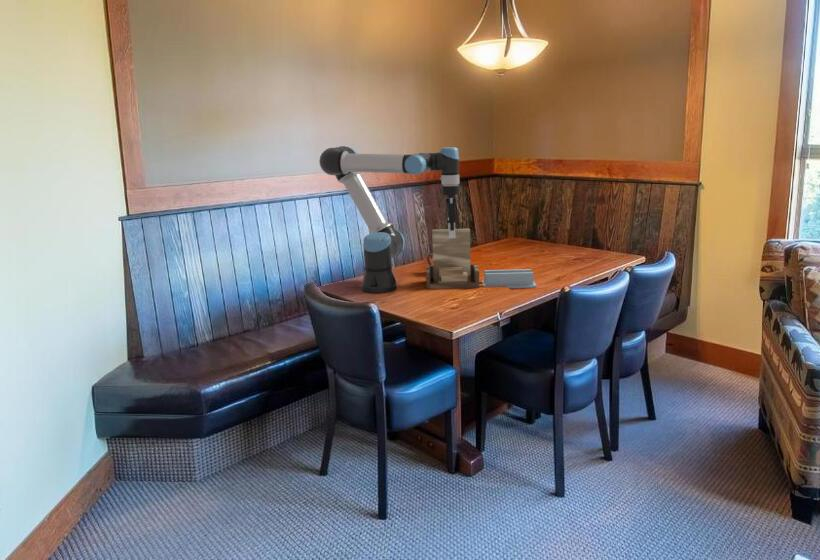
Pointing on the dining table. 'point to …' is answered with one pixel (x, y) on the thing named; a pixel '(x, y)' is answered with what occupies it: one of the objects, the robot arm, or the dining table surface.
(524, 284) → the slotted stand
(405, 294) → the dining table surface
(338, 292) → the dining table surface
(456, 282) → the offcut low
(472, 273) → the rack
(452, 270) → the offcut top
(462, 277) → the offcut mid
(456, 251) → the birch board
